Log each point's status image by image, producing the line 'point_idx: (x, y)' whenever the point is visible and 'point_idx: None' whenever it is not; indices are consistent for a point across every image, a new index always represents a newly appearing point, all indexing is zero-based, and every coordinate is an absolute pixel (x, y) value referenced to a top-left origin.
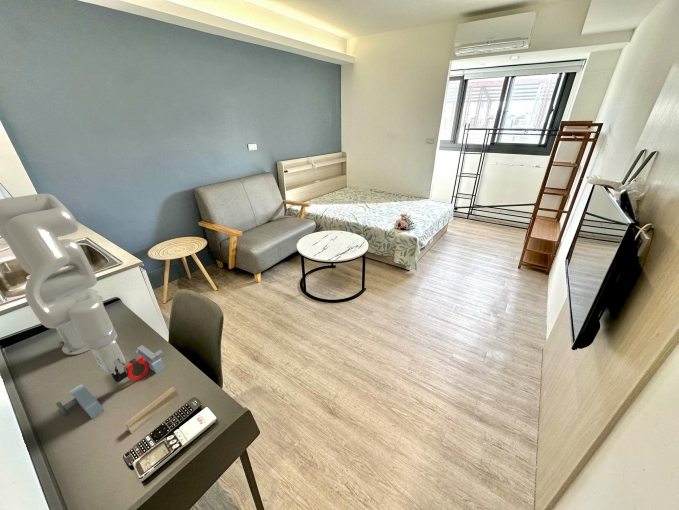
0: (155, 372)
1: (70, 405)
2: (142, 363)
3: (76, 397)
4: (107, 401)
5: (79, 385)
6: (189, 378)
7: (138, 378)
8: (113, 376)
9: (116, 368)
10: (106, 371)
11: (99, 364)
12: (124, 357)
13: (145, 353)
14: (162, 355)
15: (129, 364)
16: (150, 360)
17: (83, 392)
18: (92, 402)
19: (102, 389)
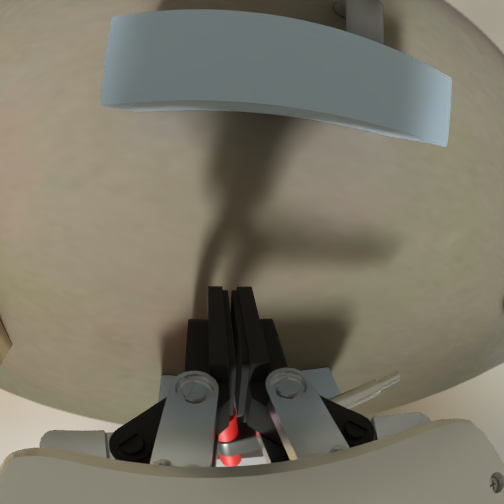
0: (168, 379)
1: (348, 17)
2: None
3: (353, 38)
4: (195, 155)
5: (445, 131)
6: (49, 392)
7: None
8: (212, 342)
9: (248, 415)
10: (86, 489)
11: (387, 495)
12: (351, 407)
13: (253, 458)
14: None
15: (222, 436)
16: None
17: (358, 89)
18: (138, 68)
19: (332, 188)
